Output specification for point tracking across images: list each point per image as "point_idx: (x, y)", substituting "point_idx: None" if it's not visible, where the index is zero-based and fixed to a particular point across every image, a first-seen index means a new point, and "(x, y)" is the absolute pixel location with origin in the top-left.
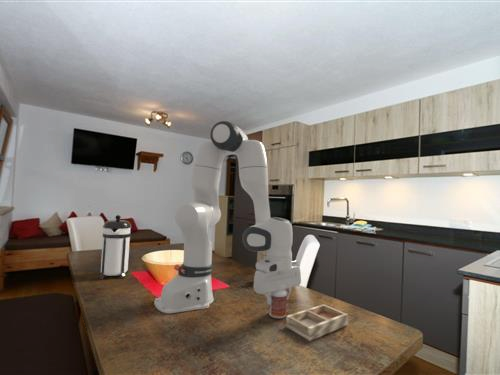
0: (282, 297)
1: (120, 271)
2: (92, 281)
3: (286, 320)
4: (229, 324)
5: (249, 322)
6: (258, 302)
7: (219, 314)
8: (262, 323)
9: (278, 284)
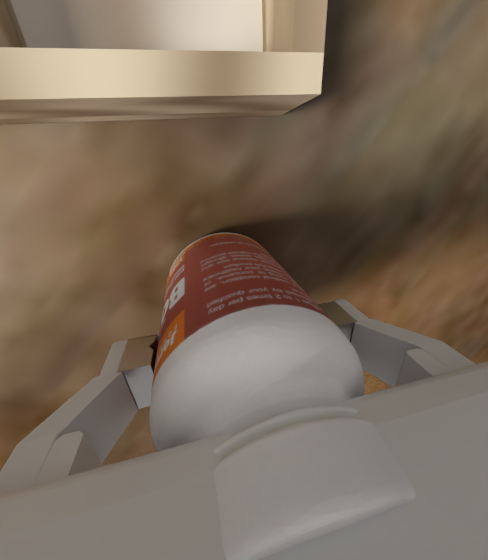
0: (277, 301)
1: None
2: None
3: (300, 103)
4: (457, 279)
5: (393, 264)
6: None
7: None
8: (358, 229)
9: (475, 537)
